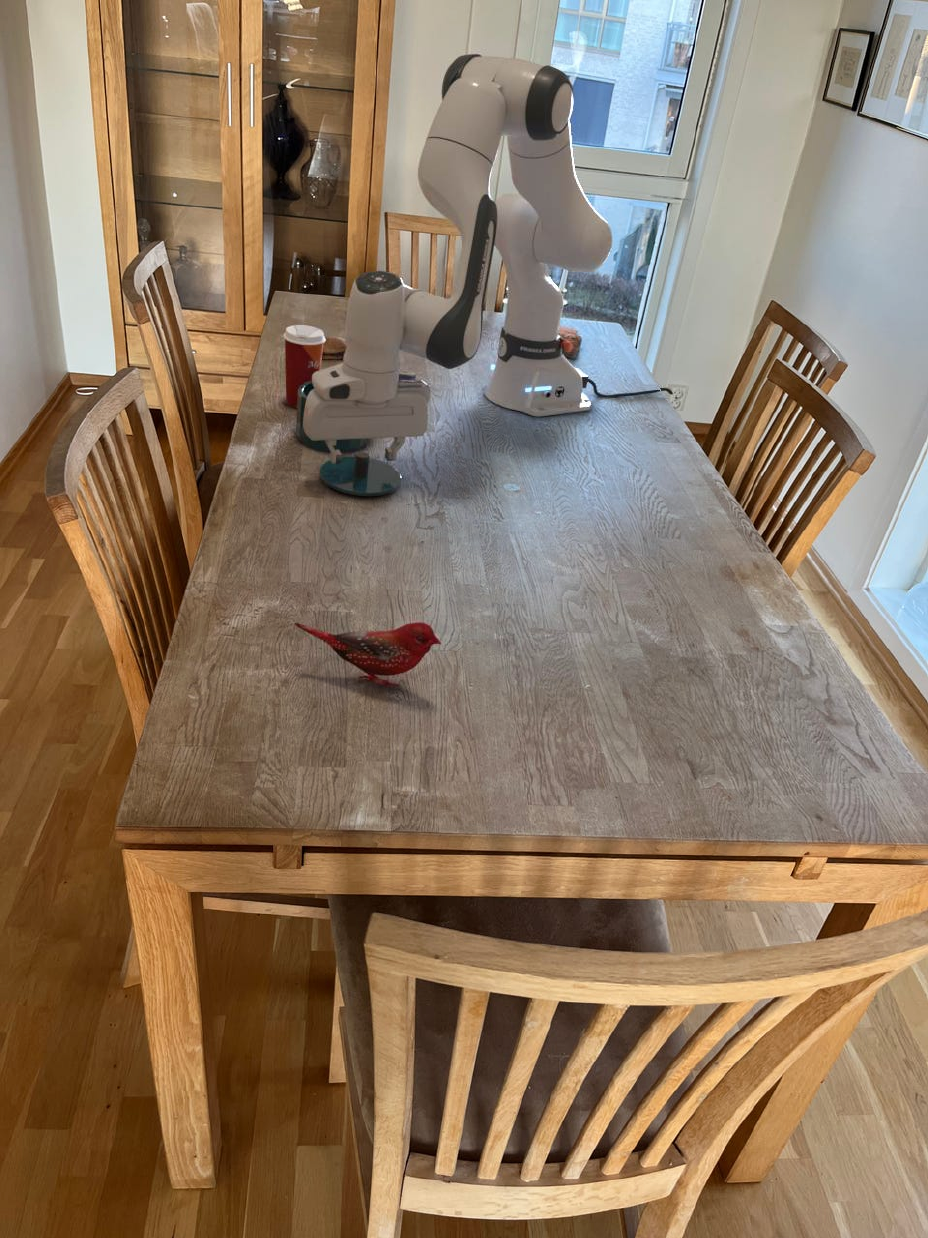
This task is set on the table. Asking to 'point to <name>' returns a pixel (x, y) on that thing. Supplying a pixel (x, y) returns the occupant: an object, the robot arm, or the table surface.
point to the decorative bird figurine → (381, 648)
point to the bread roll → (334, 348)
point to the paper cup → (301, 357)
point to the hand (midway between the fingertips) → (363, 460)
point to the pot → (320, 445)
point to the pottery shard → (570, 340)
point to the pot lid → (361, 476)
